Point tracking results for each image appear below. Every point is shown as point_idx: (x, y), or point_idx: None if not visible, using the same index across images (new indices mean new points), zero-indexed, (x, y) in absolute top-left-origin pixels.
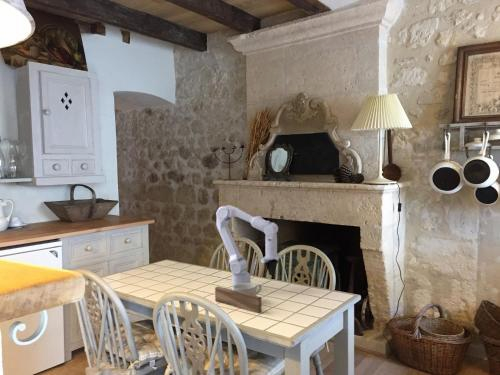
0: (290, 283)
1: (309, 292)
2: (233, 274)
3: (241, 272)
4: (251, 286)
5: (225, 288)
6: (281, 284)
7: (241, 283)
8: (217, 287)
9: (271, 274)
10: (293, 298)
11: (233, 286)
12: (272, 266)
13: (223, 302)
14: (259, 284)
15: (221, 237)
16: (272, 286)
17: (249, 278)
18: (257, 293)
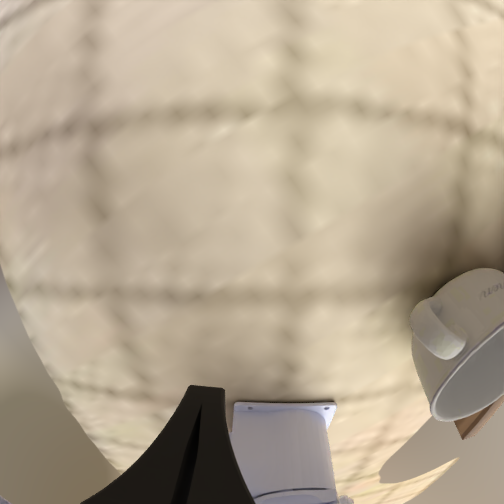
0: (14, 287)
1: (47, 86)
2: (339, 499)
3: (327, 501)
4: (441, 369)
5: (491, 408)
6: (54, 319)
7: (439, 419)
8: (477, 430)
9: (224, 402)
10: (228, 79)
11: (495, 400)
12: (247, 496)
13: None
14: (446, 341)
15: None
16: (112, 345)
17: (241, 458)
18: (434, 301)
